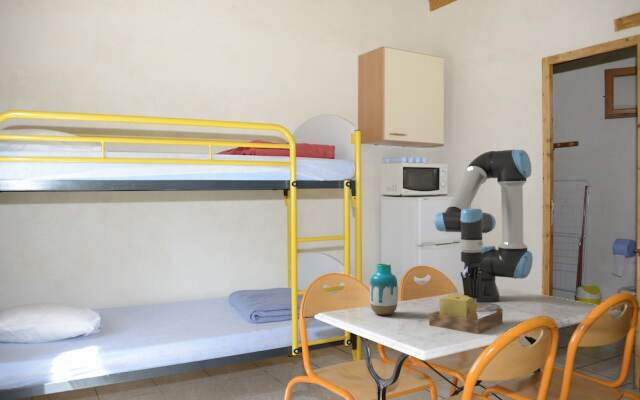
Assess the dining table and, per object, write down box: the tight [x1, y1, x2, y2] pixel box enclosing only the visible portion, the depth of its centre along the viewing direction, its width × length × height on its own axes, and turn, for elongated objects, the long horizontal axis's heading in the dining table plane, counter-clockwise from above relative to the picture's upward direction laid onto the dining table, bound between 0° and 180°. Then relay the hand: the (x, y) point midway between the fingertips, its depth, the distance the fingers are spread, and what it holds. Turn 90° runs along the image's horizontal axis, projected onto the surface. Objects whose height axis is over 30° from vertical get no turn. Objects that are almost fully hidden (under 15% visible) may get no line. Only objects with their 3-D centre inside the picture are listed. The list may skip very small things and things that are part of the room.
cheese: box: [438, 292, 479, 320], centre depth 187 cm, size 10×11×10 cm
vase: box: [369, 263, 399, 316], centre depth 204 cm, size 11×11×19 cm
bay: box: [428, 307, 504, 335], centre depth 188 cm, size 18×20×5 cm
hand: (472, 316), depth 193 cm, fingers closed
